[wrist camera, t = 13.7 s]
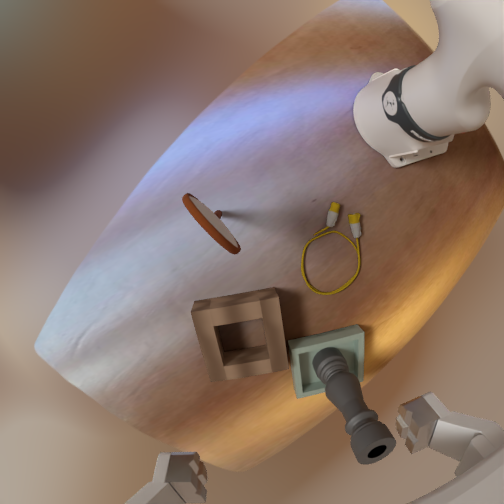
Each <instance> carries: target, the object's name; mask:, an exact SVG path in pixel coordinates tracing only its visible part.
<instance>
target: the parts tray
mask: <svg viewBox="0 0 504 504" xmlns="http://www.w3.org/2000/svg"><path fill="white" fill-rule="evenodd" d="M288 347H289V354H290V362H291V369H292V377H293V385H294V390H295V393H296V396H297V399H298V398H302V397H307V396H311V395H315V394H319V393H323V392H325V387H326V385H325V384H323V383H322V382H321V380H320V379H319V378H318V377H317V375H316V373H315V370H314V368H313V365H312V361H313V358H314V356H315V355H316V353H317V352H319V351H320V350H322V349H324V348H327V347H334V348H337V349H339V351H340V352H341V353H342V355H343V356H344V358H345V359H346V361H347V365H348V367H349V372H350V373H353V374H354V375H355V376H356V377H357V378H358V380H359V382H362V381H363V376H364V331H363V330H362V329H361V328H360V327H359V326H358V325H357V324H356V325H352V326H348V327H345V328H341V329H337V330H333V331H329V332H324V333H320V334H316V335H311V336H307V337H302V338H298V339H293V340H288Z"/></svg>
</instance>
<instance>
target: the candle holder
mask: <svg viewBox="0 0 504 504" xmlns="http://www.w3.org/2000/svg"><path fill="white" fill-rule="evenodd" d="M312 365H313V368H314V370H315V373H316V375H317V377H318V378H319V379H320V380H321V382H322V383H323V384H325V385H326V387H325V393H326V396H327V398H328V399H329V400H330V401H331V402H332V403H333V404H334V405H335V406H336V407H337V408H338V409H339V410H340V411H341V412H342V414H343V416H344V418H345V420H346V425H345V430H346V433H348V434H349V435H352V436H351V448H352V450H353V452H354V454H355V456H356V458H357V461H358V462H359V463H360V464H371V463H375V462H377V461H379V460H381V459H382V458H384V457H386V456H387V455H388V454H389V453H390V452H391V451H393V449H394V447H395V446H396V440H395V439H394V437H393V435H392V434H391V432H390V431H389V429H388V428H387V426H386V425H385V424H382V423H381V422H380V421H377V420H378V415H377V413H376V412H375V411H374V410H370V409H368V407H367V405H366V404H365V402H364V400H363V395H362V391H361V387H360V382H359V380H358V378H357V377H356V376H355V375H354V374H353V373H350V372H349V367H348V365H347V361H346V359H345V358H344V356H343V355H342V353H341V352H340V351H339V349H337V348H334V347H327V348H324V349H322V350H320V351H319V352H317V353H316V355H315V356H314V358H313V361H312Z"/></svg>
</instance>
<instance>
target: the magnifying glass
mask: <svg viewBox="0 0 504 504" xmlns="http://www.w3.org/2000/svg"><path fill="white" fill-rule="evenodd" d="M182 201H183V203H184V205H185V207H186V208H187V210H188V211H189V212H190V214H191V215H192V216H193V217H194V219H195V220H196V221H197V222H198V223H199V224H200V225H201V227H202V228H203V229H204V230H205V231H206V232H207V233H208V234H209V235H210V236H211V237H212V238H213V239H214V240H215V241H216V242H218V243H219V244H220V245H221V246H222V247H223V248H225V249H226V250H227V251H229V252H230V253H232V254H237V253H239V252H240V250H241V248H240V245H239V244H238V242H237V241H236V239H235V238H234V237H233V235H232V234H231V233H230V231H229V230H228V228H227V227H226V226H225V225H224V224H223V222H222V221H221V220H220V218H221V216H222V212H221V211H220V210H217V211H215V213H213V212H212V211H211V210H210V209H209V208H208V207H207V206H205V205H204V204H203V203H201V202H200V201H199V200H198V199H197V198H195V197H194V196H193V195H191V194H189V193H187V194H185V195H184V196H183V198H182Z"/></svg>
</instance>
